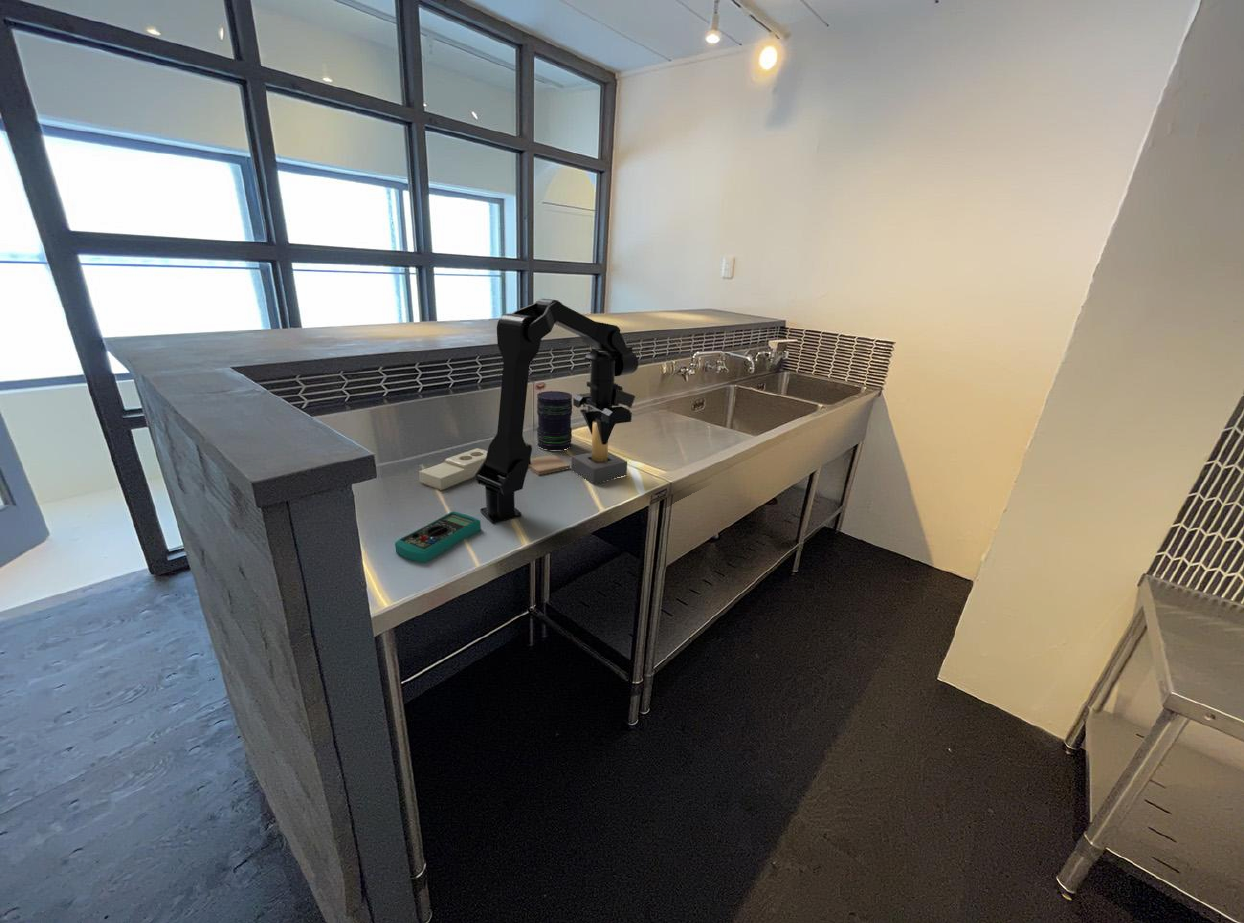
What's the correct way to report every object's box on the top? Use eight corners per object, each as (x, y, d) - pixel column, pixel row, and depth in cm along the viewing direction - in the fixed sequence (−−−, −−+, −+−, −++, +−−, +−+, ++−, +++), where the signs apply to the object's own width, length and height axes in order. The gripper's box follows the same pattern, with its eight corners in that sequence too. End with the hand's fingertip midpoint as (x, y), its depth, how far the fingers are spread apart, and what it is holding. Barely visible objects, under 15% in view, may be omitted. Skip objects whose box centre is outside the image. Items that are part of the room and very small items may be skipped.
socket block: (626, 476, 126) (627, 461, 125) (593, 484, 121) (593, 469, 119) (603, 464, 134) (604, 449, 132) (571, 471, 128) (571, 456, 127)
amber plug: (610, 462, 125) (612, 423, 122) (596, 464, 123) (597, 425, 120) (602, 457, 129) (603, 419, 125) (588, 459, 127) (589, 421, 123)
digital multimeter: (392, 555, 88) (390, 540, 87) (454, 521, 101) (453, 508, 100) (423, 567, 85) (421, 552, 84) (482, 531, 98) (482, 517, 97)
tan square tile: (569, 468, 129) (570, 465, 129) (538, 475, 124) (538, 471, 124) (552, 458, 136) (552, 454, 136) (522, 463, 131) (522, 460, 130)
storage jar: (549, 454, 139) (550, 401, 134) (530, 444, 146) (529, 393, 140) (578, 447, 145) (579, 396, 140) (558, 438, 152) (558, 389, 147)
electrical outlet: (418, 467, 116) (477, 447, 130) (420, 483, 117) (478, 462, 132) (440, 474, 112) (497, 453, 127) (441, 491, 114) (498, 468, 128)
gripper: (653, 384, 116) (648, 448, 121) (611, 369, 130) (608, 427, 136) (611, 388, 110) (608, 455, 115) (572, 372, 124) (571, 432, 130)
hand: (600, 441), depth 124 cm, fingers closed on amber plug, 4 cm apart
